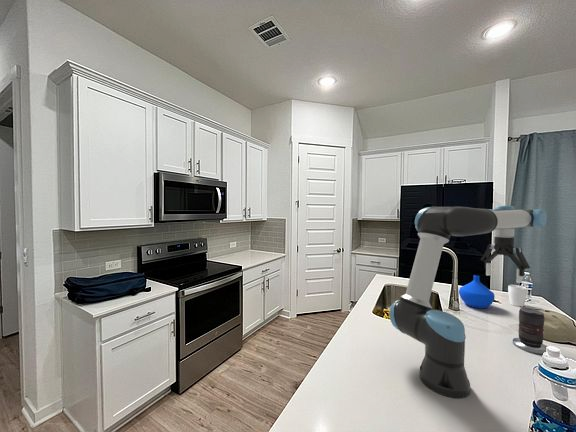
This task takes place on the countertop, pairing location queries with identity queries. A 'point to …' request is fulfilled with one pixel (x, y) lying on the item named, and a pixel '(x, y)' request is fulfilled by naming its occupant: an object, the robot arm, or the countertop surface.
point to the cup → (517, 295)
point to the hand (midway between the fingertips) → (503, 278)
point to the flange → (529, 349)
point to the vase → (476, 294)
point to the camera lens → (531, 327)
